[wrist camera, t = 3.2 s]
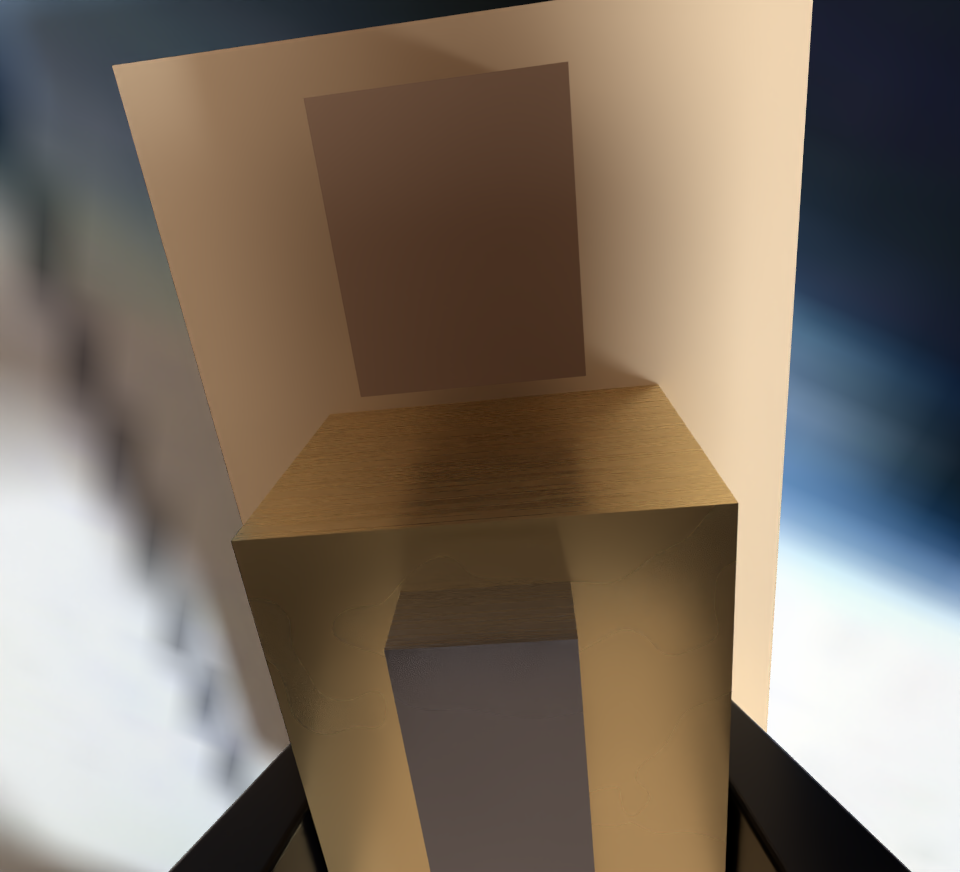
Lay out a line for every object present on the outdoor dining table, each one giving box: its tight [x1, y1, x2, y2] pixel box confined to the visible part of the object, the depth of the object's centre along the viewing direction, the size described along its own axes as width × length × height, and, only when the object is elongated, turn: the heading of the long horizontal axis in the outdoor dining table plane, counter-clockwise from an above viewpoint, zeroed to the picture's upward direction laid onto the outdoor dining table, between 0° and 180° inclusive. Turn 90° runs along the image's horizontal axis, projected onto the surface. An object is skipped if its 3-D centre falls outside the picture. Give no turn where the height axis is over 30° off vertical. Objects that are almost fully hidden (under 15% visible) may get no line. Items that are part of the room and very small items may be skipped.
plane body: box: [112, 0, 813, 733], centre depth 10 cm, size 7×16×6 cm, turn 7°
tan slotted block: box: [231, 384, 738, 872], centre depth 8 cm, size 4×8×4 cm, turn 6°
